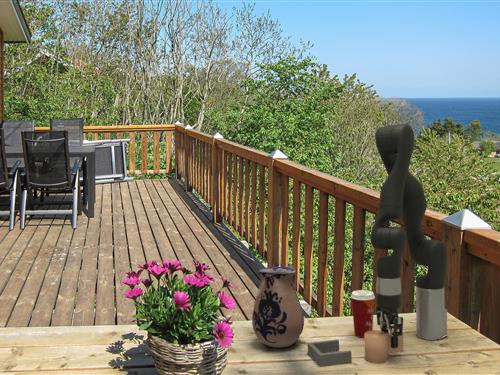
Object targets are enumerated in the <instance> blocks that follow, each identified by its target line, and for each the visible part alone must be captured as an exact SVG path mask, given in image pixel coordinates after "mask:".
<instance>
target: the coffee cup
mask: <svg viewBox="0 0 500 375" xmlns="http://www.w3.org/2000/svg"><path fill="white" fill-rule="evenodd" d="M350 298H351V306H352V317H353V318H352V319H353V329H354V330H353V331H354V336H355V338H359V339H365V332H367V331H373V330H374V329H373V328H374V326H373V325H374V306H375V304H374V303H375V299H376V298H375V294H374V292H373V291H372V290H366V289H365V290H364V289H359V290H353V291H352V293H351V295H350Z"/></svg>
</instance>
